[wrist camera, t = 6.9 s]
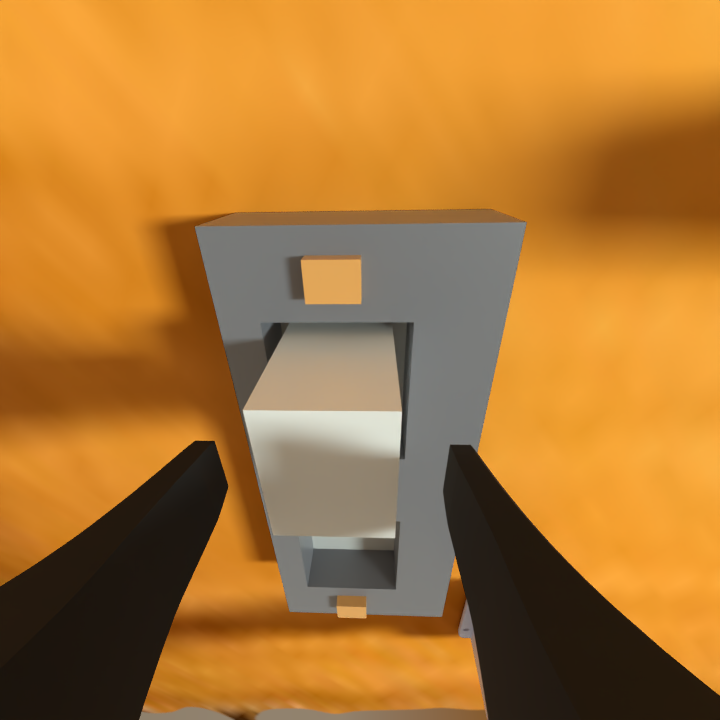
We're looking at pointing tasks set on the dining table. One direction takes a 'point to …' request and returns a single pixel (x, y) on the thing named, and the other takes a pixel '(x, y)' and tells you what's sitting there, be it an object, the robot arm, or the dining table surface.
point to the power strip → (413, 357)
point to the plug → (329, 431)
